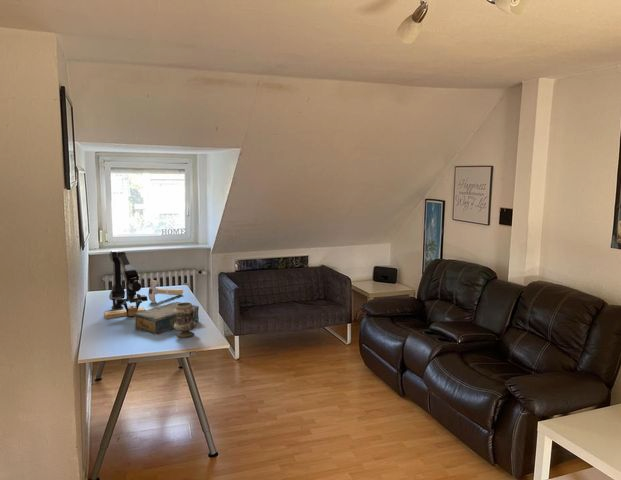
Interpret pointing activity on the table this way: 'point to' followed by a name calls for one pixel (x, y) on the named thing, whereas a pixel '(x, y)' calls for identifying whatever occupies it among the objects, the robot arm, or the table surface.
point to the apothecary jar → (184, 319)
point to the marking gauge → (132, 310)
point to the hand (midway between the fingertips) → (132, 312)
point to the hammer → (161, 291)
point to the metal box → (159, 318)
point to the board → (119, 313)
